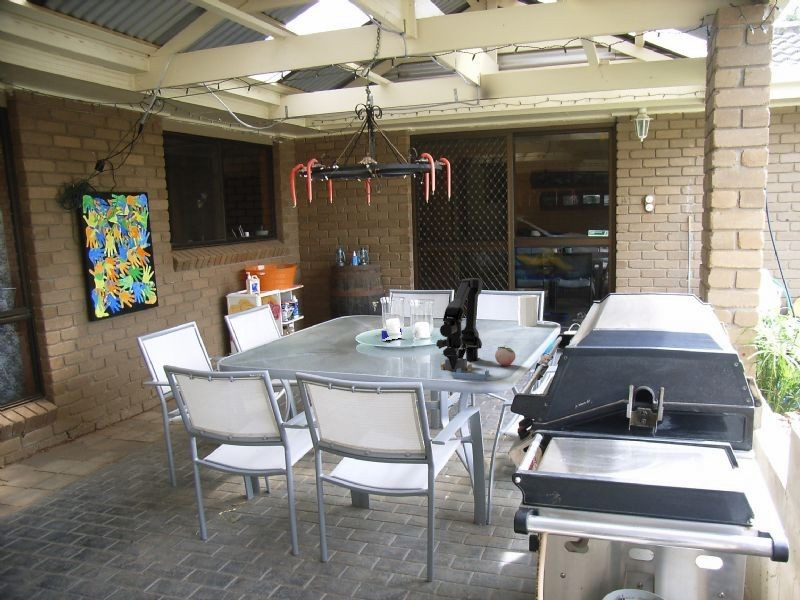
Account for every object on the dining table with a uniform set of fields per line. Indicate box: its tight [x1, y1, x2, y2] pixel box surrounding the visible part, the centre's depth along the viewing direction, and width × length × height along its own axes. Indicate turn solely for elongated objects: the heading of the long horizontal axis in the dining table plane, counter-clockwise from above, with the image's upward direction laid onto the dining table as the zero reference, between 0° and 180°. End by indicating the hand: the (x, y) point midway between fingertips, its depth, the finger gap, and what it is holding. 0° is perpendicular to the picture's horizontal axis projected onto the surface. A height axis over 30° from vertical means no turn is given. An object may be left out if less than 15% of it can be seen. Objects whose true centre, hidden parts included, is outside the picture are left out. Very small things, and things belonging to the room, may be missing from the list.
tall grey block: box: [444, 357, 468, 372], centre depth 281 cm, size 4×9×5 cm, turn 68°
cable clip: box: [381, 327, 403, 340], centre depth 357 cm, size 12×4×6 cm, turn 127°
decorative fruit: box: [494, 346, 516, 367], centre depth 282 cm, size 9×8×10 cm
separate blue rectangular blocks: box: [452, 368, 490, 381], centre depth 267 cm, size 8×14×2 cm, turn 68°
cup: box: [517, 294, 538, 328], centre depth 378 cm, size 11×11×18 cm
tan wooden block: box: [440, 362, 473, 372], centre depth 281 cm, size 3×14×2 cm, turn 68°
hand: (456, 366), depth 281 cm, fingers open, 9 cm apart
